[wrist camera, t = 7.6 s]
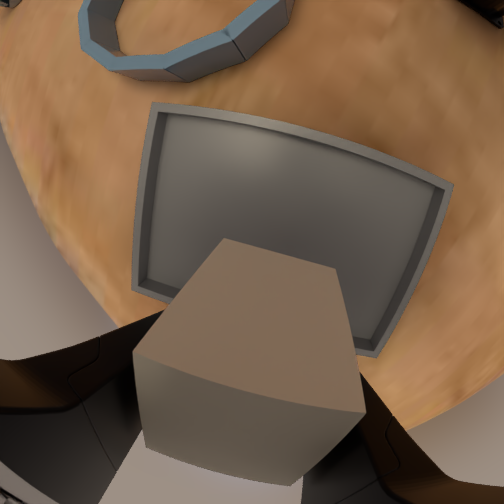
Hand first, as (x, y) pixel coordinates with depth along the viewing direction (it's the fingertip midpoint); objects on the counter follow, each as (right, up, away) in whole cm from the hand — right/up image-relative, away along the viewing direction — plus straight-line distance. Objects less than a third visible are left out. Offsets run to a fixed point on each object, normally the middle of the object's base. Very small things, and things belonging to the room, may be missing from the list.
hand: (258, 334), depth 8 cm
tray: (+2, +4, +11) cm, 12 cm away
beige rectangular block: (0, +1, +2) cm, 2 cm away
